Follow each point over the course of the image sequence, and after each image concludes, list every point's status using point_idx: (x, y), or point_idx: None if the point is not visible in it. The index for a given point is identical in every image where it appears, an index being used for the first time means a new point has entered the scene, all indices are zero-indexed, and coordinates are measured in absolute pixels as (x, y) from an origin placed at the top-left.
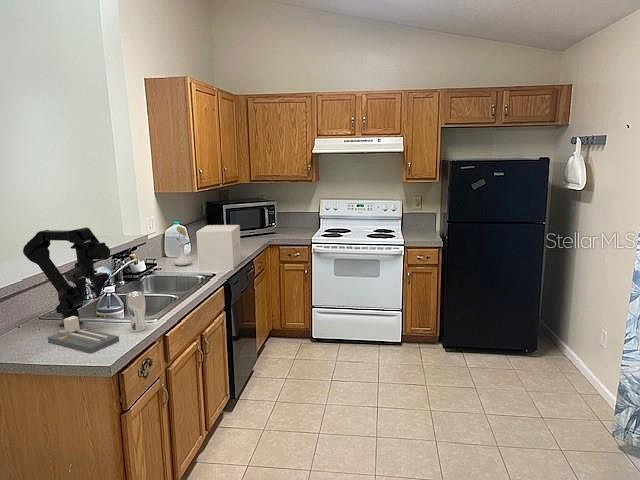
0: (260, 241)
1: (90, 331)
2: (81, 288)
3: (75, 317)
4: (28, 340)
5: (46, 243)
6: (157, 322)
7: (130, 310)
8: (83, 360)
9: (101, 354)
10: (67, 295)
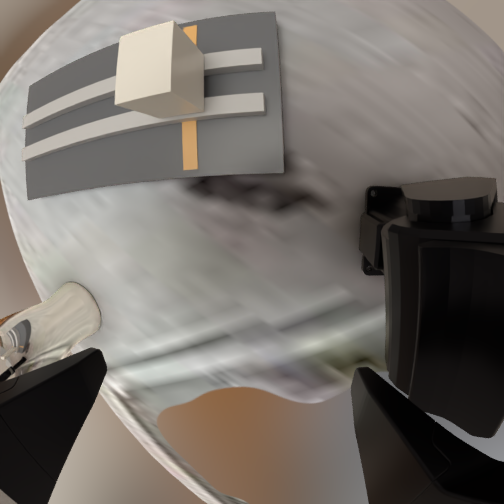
0: None
1: (139, 164)
2: (381, 446)
3: (122, 86)
4: (383, 12)
5: None
6: None
7: (7, 316)
8: (35, 58)
9: (22, 108)
10: (482, 246)
